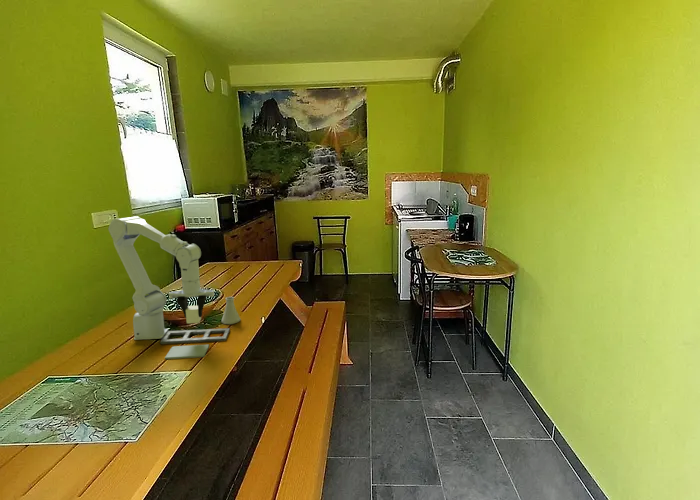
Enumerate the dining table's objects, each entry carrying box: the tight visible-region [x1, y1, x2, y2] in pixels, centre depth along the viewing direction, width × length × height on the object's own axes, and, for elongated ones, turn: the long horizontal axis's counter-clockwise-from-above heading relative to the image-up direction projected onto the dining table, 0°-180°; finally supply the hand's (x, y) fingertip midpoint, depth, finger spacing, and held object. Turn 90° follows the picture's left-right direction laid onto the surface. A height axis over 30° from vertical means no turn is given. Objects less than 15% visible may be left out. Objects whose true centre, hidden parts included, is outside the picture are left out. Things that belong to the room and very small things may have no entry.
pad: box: [164, 344, 210, 360], centre depth 125 cm, size 12×8×1 cm, turn 99°
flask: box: [220, 296, 242, 325], centre depth 151 cm, size 7×7×10 cm
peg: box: [185, 305, 202, 324], centre depth 133 cm, size 4×4×5 cm
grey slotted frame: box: [159, 327, 231, 345], centre depth 137 cm, size 22×9×1 cm, turn 99°
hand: (193, 316), depth 133 cm, fingers closed on peg, 4 cm apart
